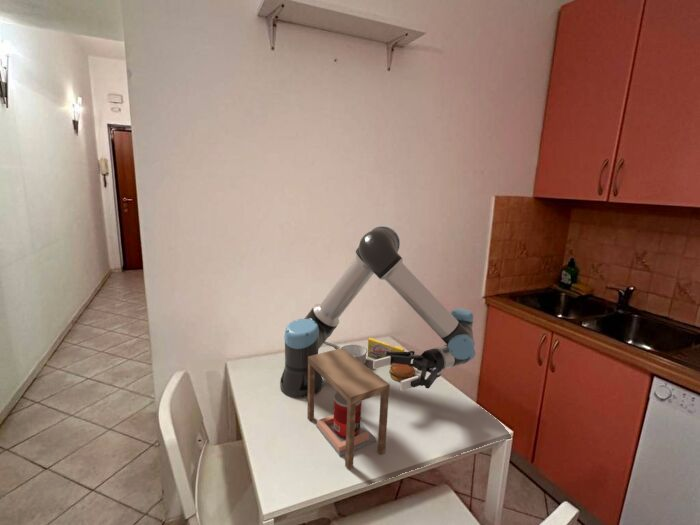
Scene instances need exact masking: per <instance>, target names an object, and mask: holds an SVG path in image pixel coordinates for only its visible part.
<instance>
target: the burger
mask: <svg viewBox="0 0 700 525" xmlns="http://www.w3.org/2000/svg"><path fill="white" fill-rule="evenodd" d="M390 365H391V364H390ZM388 373H389V374H390V378H391V380H393V381H395V382H399V383H401V381H402V380H405V379H409V378H412V377H415V376H416V375H415V374H416V368H414V367H410V366H408V365H405V364H396V363H393V364H392V365H391V366H390V369H389V372H388Z"/></svg>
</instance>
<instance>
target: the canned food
mask: <svg viewBox="0 0 700 525" xmlns="http://www.w3.org/2000/svg"><path fill="white" fill-rule="evenodd" d="M347 402H348V401H347V400H346V399H345V398H343V397H342V396H341V395H340V394H339V393H338V392H337V391H336V393H335V394H334V397H333V415H334V425H333V428H334V431H335V433H336V434H337V435H338V436H340V437H342V438H346V429H347ZM361 419H362V401H360V402H357V403H356V410H355V434H354V437H355V436H357V435H358V433H359V431H360V422H361V421H362V420H361ZM361 423H362V422H361Z"/></svg>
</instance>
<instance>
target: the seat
mask: <svg viewBox="0 0 700 525" xmlns="http://www.w3.org/2000/svg"><path fill="white" fill-rule="evenodd" d="M333 425H334V414H332V415H329V416H326V417H323V418H320V419H318V420H317V421H316V424H315V427H316V428H317V430H318V431H319V432H320V434H321V435H322V436H323V438H325V440H326V441H327V442H328V443H329V446H331V448H332V449H333V450H334V451H335V452H336V454H337V455H338V456H339V457H343V456H344V455H345V456H346V438H342V437H340V436H338V435H337V434H336V433H335V431H334V428H333ZM376 441H377V437H376V436H375V435H374V434H373V433H372V432H370V430H368V428H366V426H365V425H364V424H363V423H362V422H360V431H359V433H358V435H357V436H355V437H354V451H356V450H358V449H361V448H364V447H366V446H367V445H369V444H370V445H371V444H372V443H376Z"/></svg>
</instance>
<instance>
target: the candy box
mask: <svg viewBox="0 0 700 525" xmlns="http://www.w3.org/2000/svg"><path fill="white" fill-rule="evenodd" d="M367 341H368V342H367V357H368V358H373V360H377V359H380V358H383V357H386V352H405V348H404V347H401V346H397V345H395V344H391V343H388V342H385V341H382V340H379V339H376V338H373V337H369V338H368V340H367ZM392 364H393V363H390V365H392Z"/></svg>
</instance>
